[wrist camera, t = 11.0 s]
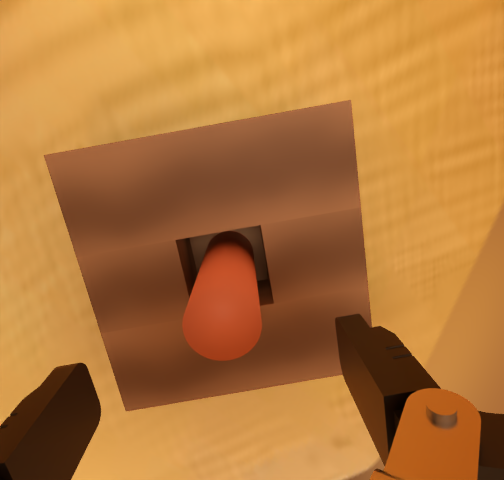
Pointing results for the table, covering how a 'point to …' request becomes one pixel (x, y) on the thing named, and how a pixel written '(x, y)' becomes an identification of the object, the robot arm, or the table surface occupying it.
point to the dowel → (224, 300)
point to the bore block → (199, 235)
